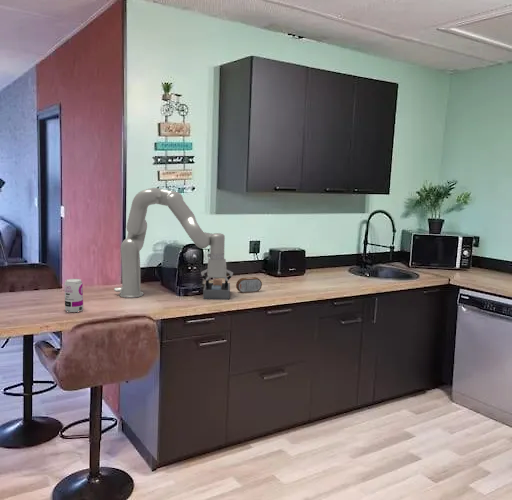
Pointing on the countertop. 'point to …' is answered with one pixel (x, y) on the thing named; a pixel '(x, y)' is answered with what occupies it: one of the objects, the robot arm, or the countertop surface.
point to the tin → (249, 284)
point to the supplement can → (73, 295)
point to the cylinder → (217, 282)
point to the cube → (216, 287)
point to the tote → (216, 292)
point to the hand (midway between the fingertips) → (216, 287)
